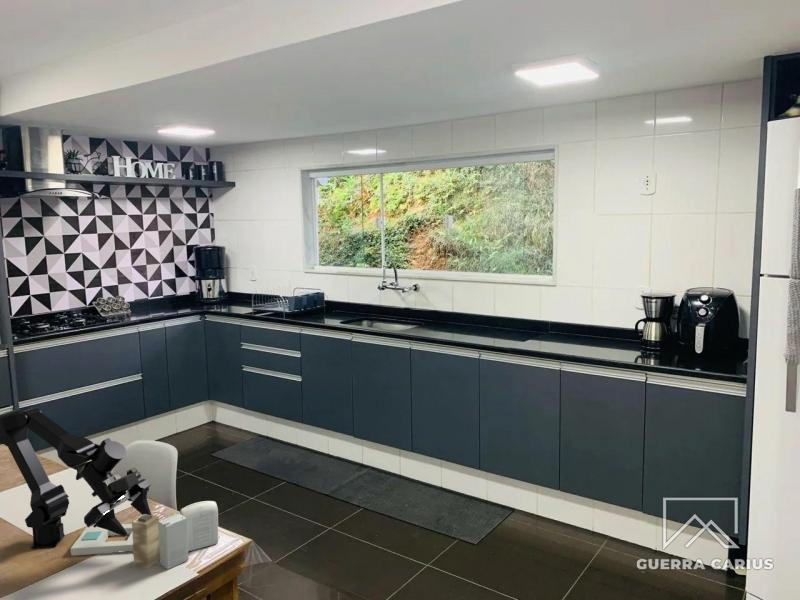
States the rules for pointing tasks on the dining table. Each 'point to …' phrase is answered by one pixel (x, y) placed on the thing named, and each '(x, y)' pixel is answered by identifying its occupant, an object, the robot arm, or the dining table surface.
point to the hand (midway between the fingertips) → (138, 526)
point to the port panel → (101, 541)
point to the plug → (146, 541)
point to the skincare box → (173, 541)
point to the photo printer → (201, 524)
